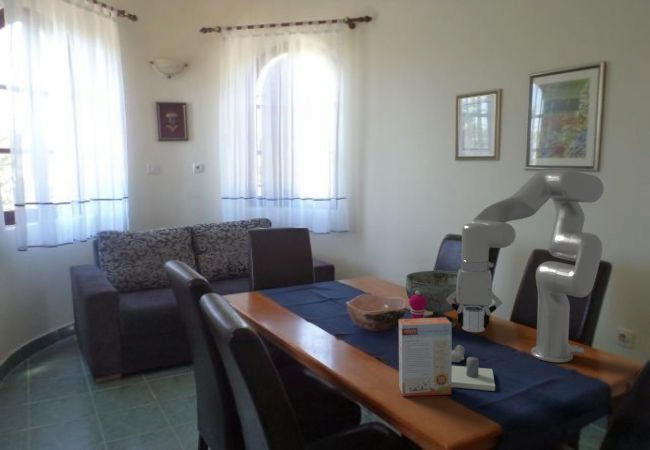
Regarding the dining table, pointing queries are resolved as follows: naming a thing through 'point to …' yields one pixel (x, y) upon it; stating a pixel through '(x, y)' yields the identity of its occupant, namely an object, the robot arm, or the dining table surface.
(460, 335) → the dining table surface
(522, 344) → the dining table surface
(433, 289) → the decorative bowl
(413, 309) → the pepper mill
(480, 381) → the square plate with knob
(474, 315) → the sleeve
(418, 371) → the cracker box
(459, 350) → the pale two-lobed sculpture
